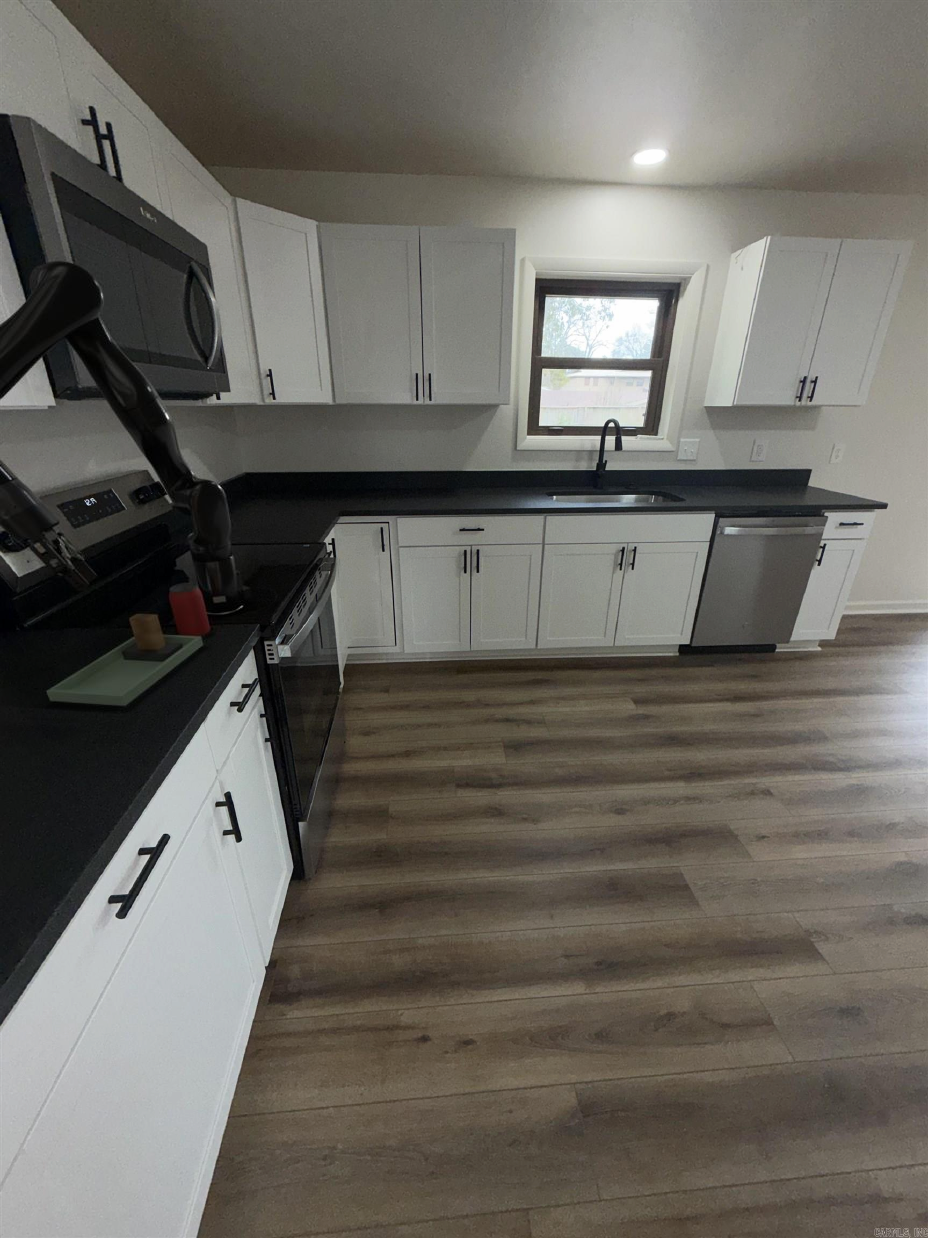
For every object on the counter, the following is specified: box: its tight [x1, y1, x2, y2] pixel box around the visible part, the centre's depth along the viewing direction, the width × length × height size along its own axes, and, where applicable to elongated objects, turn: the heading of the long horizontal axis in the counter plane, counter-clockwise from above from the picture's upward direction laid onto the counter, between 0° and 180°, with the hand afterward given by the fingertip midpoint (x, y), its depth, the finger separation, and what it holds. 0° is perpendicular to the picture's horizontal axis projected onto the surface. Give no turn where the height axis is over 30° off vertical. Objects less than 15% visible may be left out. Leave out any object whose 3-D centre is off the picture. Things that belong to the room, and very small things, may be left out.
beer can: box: [168, 582, 211, 637], centre depth 113 cm, size 7×7×12 cm
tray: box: [46, 634, 204, 707], centre depth 99 cm, size 24×15×3 cm, turn 174°
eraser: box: [122, 613, 183, 662], centre depth 102 cm, size 10×5×9 cm, turn 84°
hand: (88, 584), depth 97 cm, fingers open, 8 cm apart
